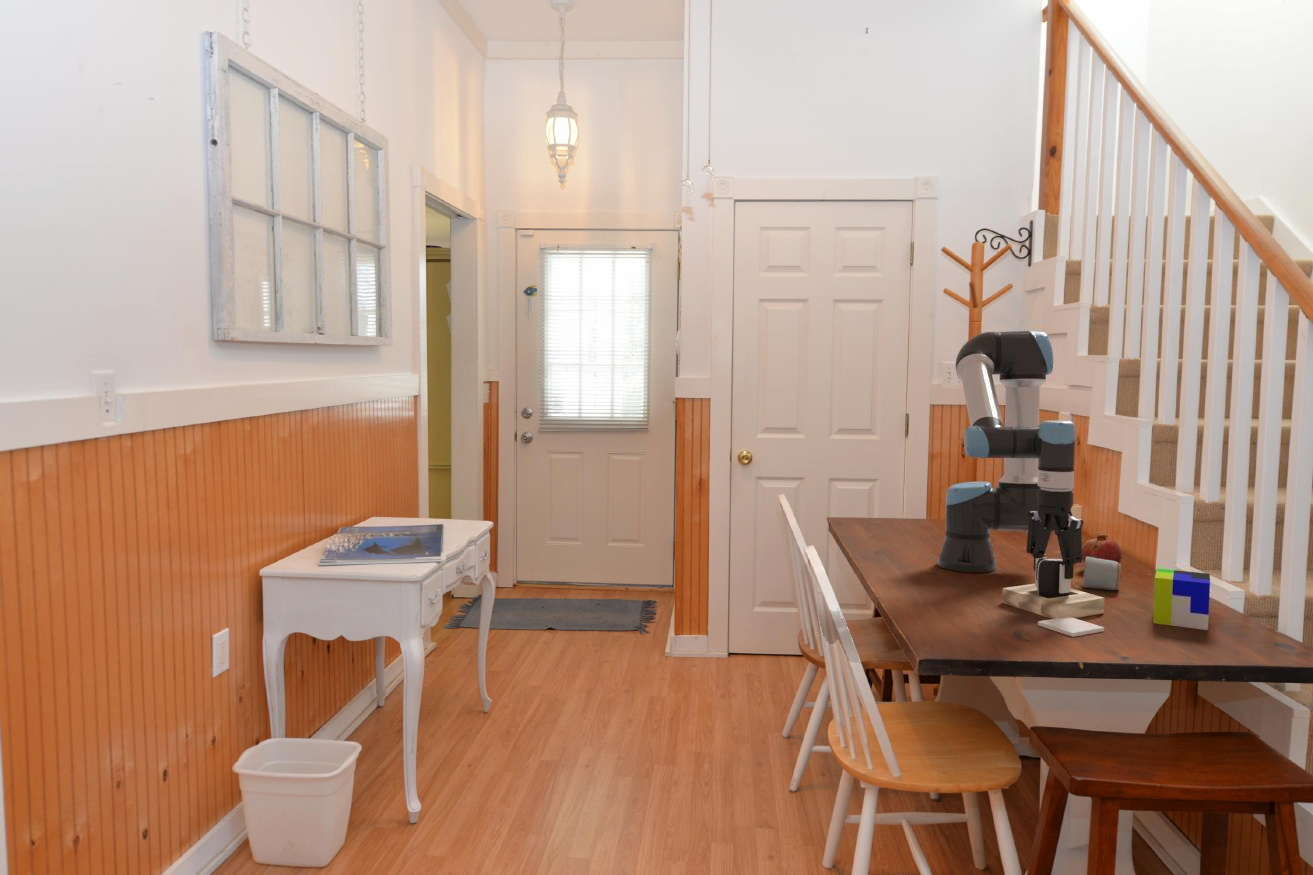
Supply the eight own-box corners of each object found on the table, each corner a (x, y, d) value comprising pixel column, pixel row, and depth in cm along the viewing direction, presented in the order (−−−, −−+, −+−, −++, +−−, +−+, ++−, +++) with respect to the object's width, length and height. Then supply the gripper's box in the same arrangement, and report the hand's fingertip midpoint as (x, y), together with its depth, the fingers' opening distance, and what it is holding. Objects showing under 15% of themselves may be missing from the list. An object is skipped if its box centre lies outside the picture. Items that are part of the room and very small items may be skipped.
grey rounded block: (1120, 593, 212) (1121, 562, 212) (1082, 590, 216) (1083, 559, 216) (1120, 584, 222) (1121, 554, 221) (1084, 581, 225) (1085, 551, 225)
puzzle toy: (1207, 630, 183) (1209, 583, 182) (1153, 623, 188) (1154, 577, 188) (1207, 618, 192) (1209, 573, 191) (1155, 611, 197) (1157, 568, 196)
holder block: (1002, 602, 205) (1002, 588, 205) (1046, 596, 211) (1046, 581, 210) (1058, 620, 191) (1058, 604, 190) (1104, 612, 196) (1104, 597, 196)
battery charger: (1065, 606, 202) (1066, 557, 201) (1070, 610, 198) (1071, 560, 197) (1033, 604, 203) (1034, 556, 202) (1037, 609, 199) (1039, 559, 199)
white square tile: (1037, 625, 188) (1037, 621, 187) (1068, 619, 191) (1068, 616, 191) (1072, 636, 179) (1072, 632, 179) (1104, 631, 183) (1104, 627, 183)
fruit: (1112, 578, 228) (1114, 540, 227) (1073, 571, 235) (1075, 535, 234) (1129, 571, 235) (1130, 534, 234) (1090, 565, 242) (1091, 529, 241)
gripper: (1010, 484, 206) (1008, 581, 207) (1078, 495, 188) (1075, 600, 190) (1034, 482, 209) (1031, 578, 210) (1103, 493, 191) (1100, 596, 193)
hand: (1052, 588), depth 200 cm, fingers closed on battery charger, 6 cm apart
